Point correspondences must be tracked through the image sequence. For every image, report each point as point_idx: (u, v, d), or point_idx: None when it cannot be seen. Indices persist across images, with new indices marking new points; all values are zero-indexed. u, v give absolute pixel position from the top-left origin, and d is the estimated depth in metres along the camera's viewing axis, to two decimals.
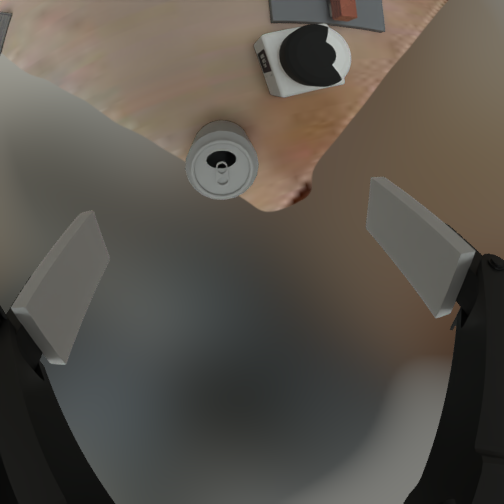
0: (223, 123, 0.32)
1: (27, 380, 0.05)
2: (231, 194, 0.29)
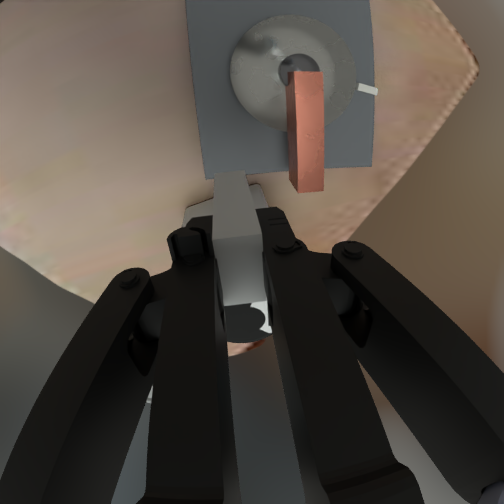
0: None
1: (218, 333, 0.06)
2: None
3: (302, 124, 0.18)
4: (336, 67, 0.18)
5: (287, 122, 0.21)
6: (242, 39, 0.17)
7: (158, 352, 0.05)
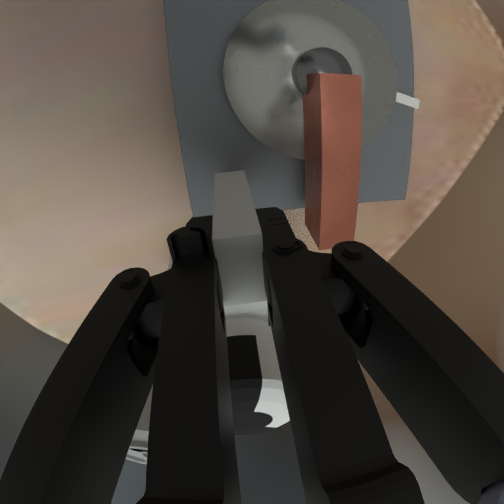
0: None
1: (218, 333, 0.06)
2: None
3: (330, 154, 0.12)
4: (372, 70, 0.13)
5: (305, 146, 0.15)
6: (240, 26, 0.11)
7: (158, 352, 0.05)
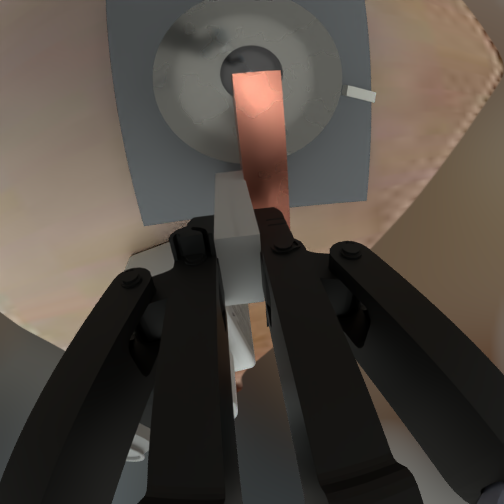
0: None
1: (220, 333, 0.06)
2: (130, 459, 0.21)
3: (251, 157, 0.12)
4: (311, 62, 0.12)
5: (238, 150, 0.15)
6: (167, 35, 0.11)
7: (160, 352, 0.05)
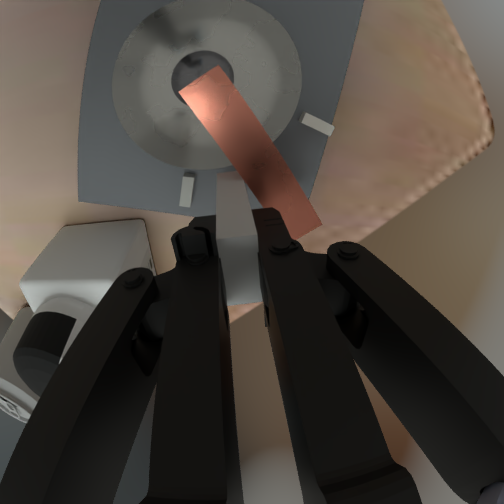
0: None
1: (222, 333, 0.06)
2: (25, 421, 0.18)
3: (237, 155, 0.12)
4: (253, 38, 0.11)
5: None
6: (113, 86, 0.12)
7: (162, 352, 0.05)
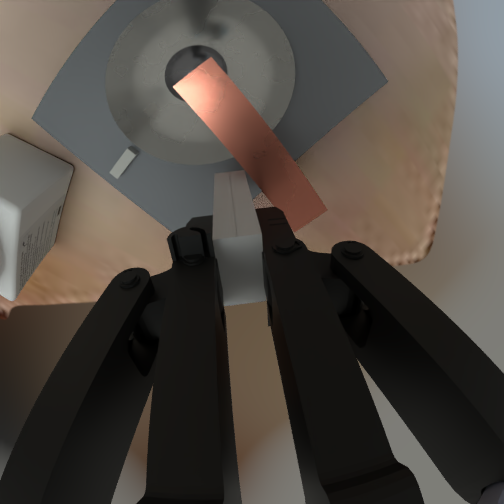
0: None
1: (218, 333, 0.06)
2: None
3: (237, 146, 0.12)
4: (243, 30, 0.11)
5: None
6: (107, 88, 0.12)
7: (158, 352, 0.05)
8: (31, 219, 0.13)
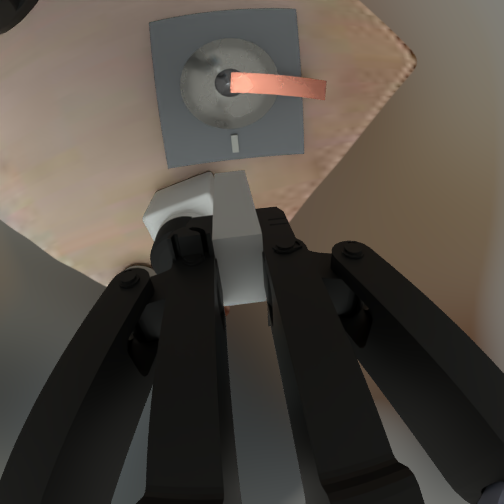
0: None
1: (218, 333, 0.06)
2: None
3: (272, 90, 0.24)
4: (225, 53, 0.24)
5: (269, 93, 0.26)
6: (200, 119, 0.27)
7: (158, 352, 0.05)
8: None
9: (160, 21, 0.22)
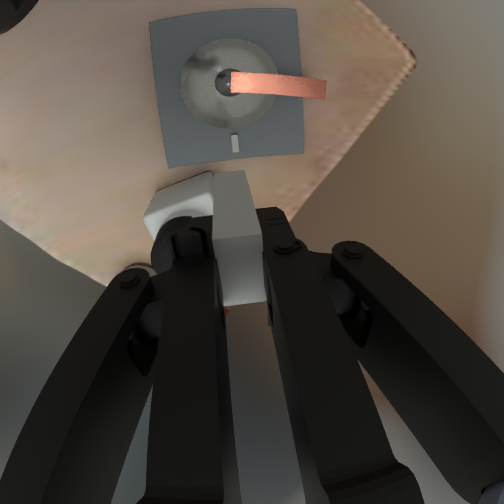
0: None
1: (218, 333, 0.06)
2: None
3: (272, 90, 0.24)
4: (226, 53, 0.24)
5: (269, 93, 0.26)
6: (200, 119, 0.27)
7: (158, 352, 0.05)
8: None
9: (160, 21, 0.22)
